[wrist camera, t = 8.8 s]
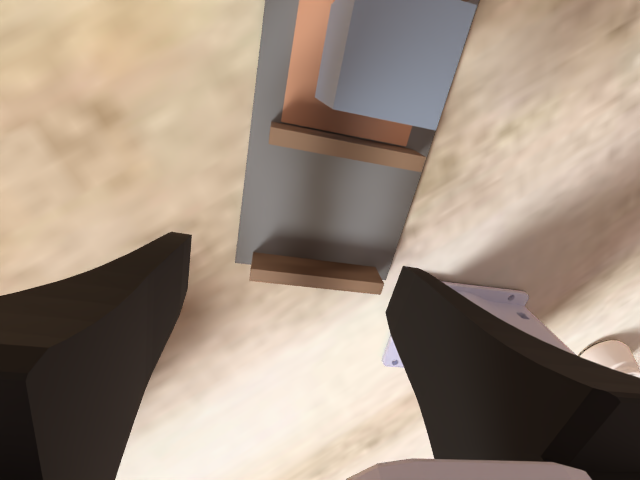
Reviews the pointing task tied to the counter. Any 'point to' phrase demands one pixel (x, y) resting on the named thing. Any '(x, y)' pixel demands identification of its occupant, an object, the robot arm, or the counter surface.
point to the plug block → (393, 57)
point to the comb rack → (320, 168)
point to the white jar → (613, 357)
